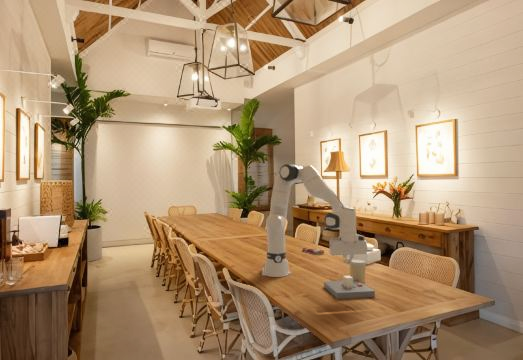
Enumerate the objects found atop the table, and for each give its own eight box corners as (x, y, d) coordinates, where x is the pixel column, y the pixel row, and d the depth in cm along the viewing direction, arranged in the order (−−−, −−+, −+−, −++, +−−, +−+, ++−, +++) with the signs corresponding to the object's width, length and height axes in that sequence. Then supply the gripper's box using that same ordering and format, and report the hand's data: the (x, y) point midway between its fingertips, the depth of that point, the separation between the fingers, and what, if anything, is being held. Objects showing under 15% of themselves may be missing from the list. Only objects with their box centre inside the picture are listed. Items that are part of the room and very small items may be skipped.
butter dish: (367, 265, 243) (367, 243, 243) (345, 261, 256) (345, 239, 256) (380, 261, 254) (380, 240, 254) (359, 257, 268) (358, 237, 268)
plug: (341, 289, 189) (341, 274, 189) (347, 289, 190) (347, 274, 190) (346, 293, 183) (346, 278, 183) (353, 293, 183) (353, 277, 183)
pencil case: (314, 257, 269) (314, 251, 269) (300, 253, 286) (300, 247, 286) (326, 256, 274) (326, 250, 274) (311, 252, 291) (311, 246, 291)
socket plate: (324, 287, 193) (324, 280, 194) (358, 285, 197) (358, 278, 197) (337, 299, 174) (337, 291, 174) (374, 296, 177) (374, 289, 177)
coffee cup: (367, 280, 206) (367, 260, 206) (363, 284, 197) (363, 263, 198) (352, 278, 210) (352, 258, 210) (347, 282, 202) (347, 261, 202)
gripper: (331, 238, 181) (331, 265, 180) (368, 237, 184) (368, 263, 184) (327, 236, 187) (327, 262, 187) (363, 235, 190) (363, 260, 190)
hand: (348, 263), depth 185 cm, fingers closed
